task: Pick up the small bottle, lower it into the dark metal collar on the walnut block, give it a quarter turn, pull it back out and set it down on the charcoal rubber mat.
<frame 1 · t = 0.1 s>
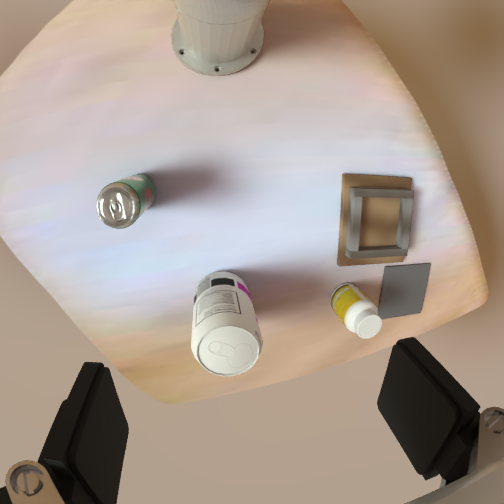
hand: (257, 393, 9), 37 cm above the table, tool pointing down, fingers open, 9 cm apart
soda can: (139, 191, 42), on the table
mat: (403, 290, 53), on the table
supplement bottle: (344, 296, 52), on the table
supplement can: (221, 294, 49), on the table
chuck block: (374, 219, 48), on the table
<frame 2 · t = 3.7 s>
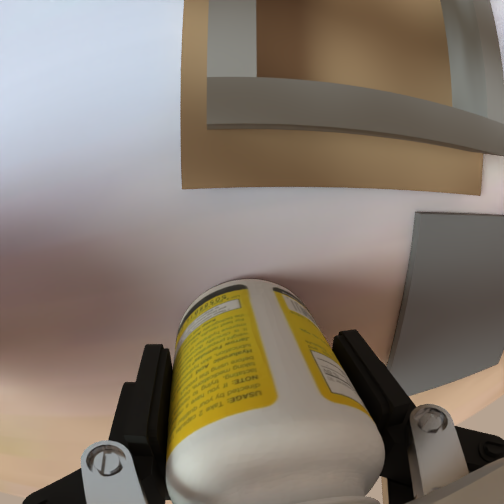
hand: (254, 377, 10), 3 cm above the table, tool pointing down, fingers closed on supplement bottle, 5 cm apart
mat: (470, 306, 14), on the table
supplement bottle: (245, 334, 13), on the table, touching gripper
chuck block: (349, 10, 9), on the table
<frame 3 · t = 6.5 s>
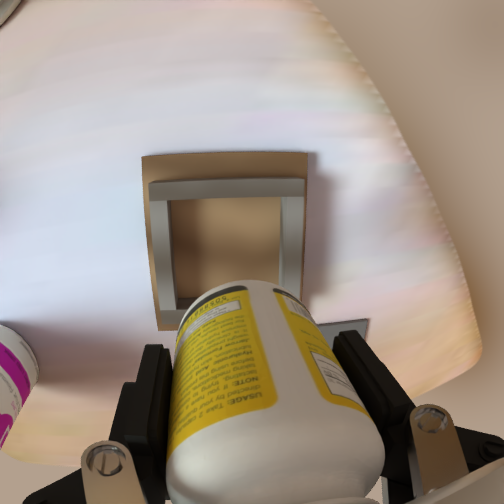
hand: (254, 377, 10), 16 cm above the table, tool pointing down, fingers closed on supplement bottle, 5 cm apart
mat: (312, 367, 30), on the table
supplement bottle: (245, 335, 13), point 13 cm above the table, touching gripper
supplement can: (11, 352, 26), on the table
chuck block: (226, 243, 25), on the table
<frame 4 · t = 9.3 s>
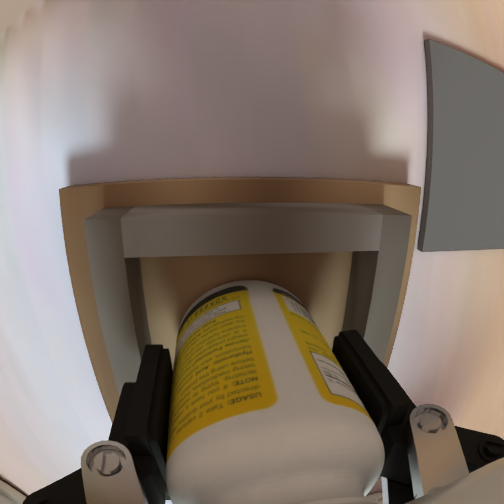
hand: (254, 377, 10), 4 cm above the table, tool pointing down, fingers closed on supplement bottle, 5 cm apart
mat: (493, 157, 13), on the table
supplement bottle: (245, 335, 13), point 1 cm above the table, touching gripper
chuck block: (246, 320, 14), on the table
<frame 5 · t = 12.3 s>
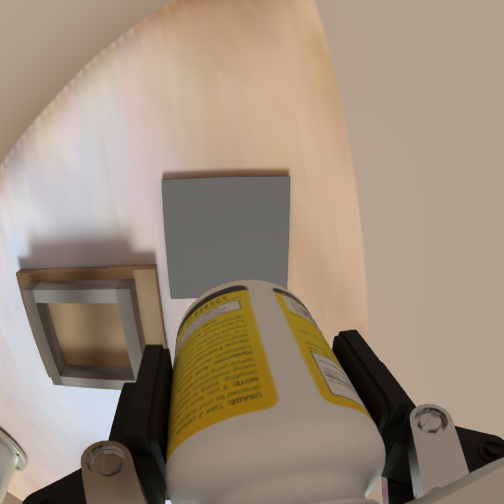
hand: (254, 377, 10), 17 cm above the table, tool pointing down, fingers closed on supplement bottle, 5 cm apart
mat: (227, 238, 26), on the table
supplement bottle: (245, 335, 13), point 14 cm above the table, touching gripper
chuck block: (94, 326, 27), on the table
when the fingers open (4 cm above the table, at t = 15.0 s): supplement bottle stays where it is, resting on mat.
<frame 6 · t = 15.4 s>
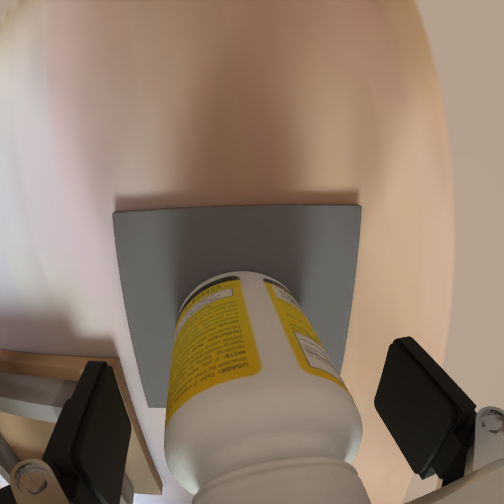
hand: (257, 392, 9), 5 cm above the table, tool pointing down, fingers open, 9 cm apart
mat: (241, 318, 14), on the table
supplement bottle: (239, 323, 14), resting on mat
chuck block: (44, 425, 15), on the table
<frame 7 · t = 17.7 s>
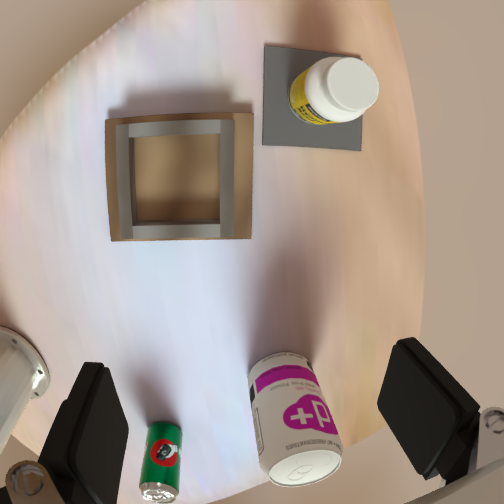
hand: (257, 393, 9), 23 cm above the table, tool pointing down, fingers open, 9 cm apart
soda can: (165, 429, 41), on the table
mat: (314, 98, 28), on the table
supplement bottle: (313, 99, 28), resting on mat
supplement can: (279, 373, 39), on the table
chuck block: (178, 176, 30), on the table
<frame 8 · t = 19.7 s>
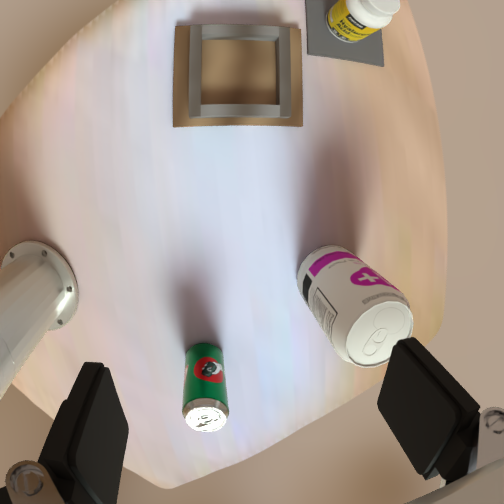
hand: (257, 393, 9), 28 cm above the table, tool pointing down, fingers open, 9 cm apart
soda can: (204, 355, 42), on the table
mat: (345, 25, 31), on the table
supplement bottle: (344, 25, 30), resting on mat
supplement can: (326, 273, 40), on the table
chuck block: (238, 74, 31), on the table
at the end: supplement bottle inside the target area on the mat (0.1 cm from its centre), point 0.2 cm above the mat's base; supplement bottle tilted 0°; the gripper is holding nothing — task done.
